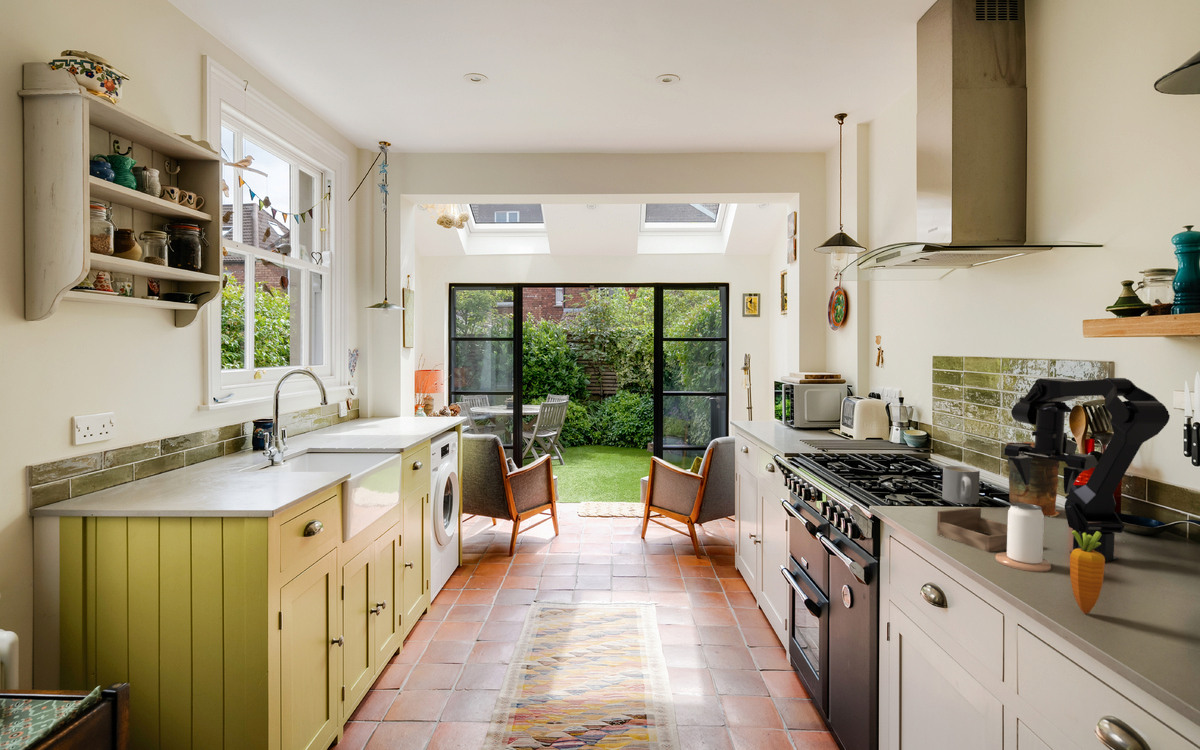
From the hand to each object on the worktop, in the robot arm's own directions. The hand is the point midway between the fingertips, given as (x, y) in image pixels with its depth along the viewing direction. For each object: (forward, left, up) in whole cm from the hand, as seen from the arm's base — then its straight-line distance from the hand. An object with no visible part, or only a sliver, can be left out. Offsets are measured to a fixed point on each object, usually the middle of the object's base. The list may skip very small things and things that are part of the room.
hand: (1046, 489), depth 151 cm
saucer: (-12, +25, -12) cm, 30 cm away
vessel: (+19, -22, -12) cm, 31 cm away
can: (-12, +25, -12) cm, 30 cm away
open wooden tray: (+3, +18, -12) cm, 22 cm away
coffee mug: (+35, -13, -12) cm, 39 cm away
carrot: (-34, +40, -12) cm, 54 cm away
